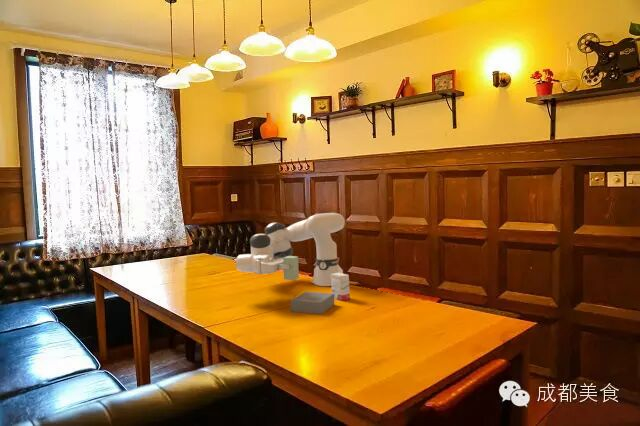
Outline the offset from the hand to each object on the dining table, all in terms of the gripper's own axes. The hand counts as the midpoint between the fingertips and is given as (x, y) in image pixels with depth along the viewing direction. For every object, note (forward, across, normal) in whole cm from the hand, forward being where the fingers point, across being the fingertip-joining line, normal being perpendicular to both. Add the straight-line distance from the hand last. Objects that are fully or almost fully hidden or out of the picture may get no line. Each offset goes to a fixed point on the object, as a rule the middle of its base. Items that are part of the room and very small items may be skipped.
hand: (292, 265), depth 203 cm
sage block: (-1, 0, -6) cm, 6 cm away
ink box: (+17, -17, -18) cm, 30 cm away
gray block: (+11, +2, -18) cm, 21 cm away
